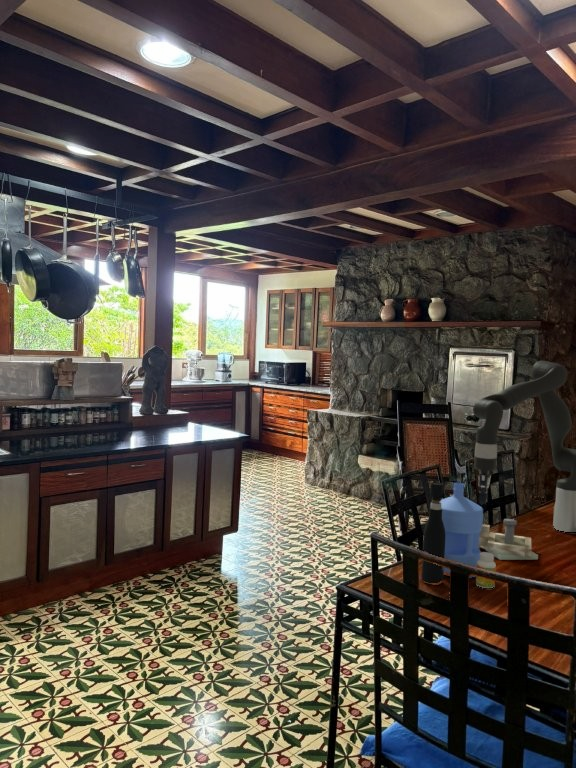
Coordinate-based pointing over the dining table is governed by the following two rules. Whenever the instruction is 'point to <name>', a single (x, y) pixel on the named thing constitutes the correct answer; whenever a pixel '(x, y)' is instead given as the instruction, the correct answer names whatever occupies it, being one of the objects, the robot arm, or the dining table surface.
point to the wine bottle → (434, 536)
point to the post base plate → (510, 540)
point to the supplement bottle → (487, 564)
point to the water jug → (461, 528)
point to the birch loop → (497, 544)
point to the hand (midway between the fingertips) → (483, 500)
